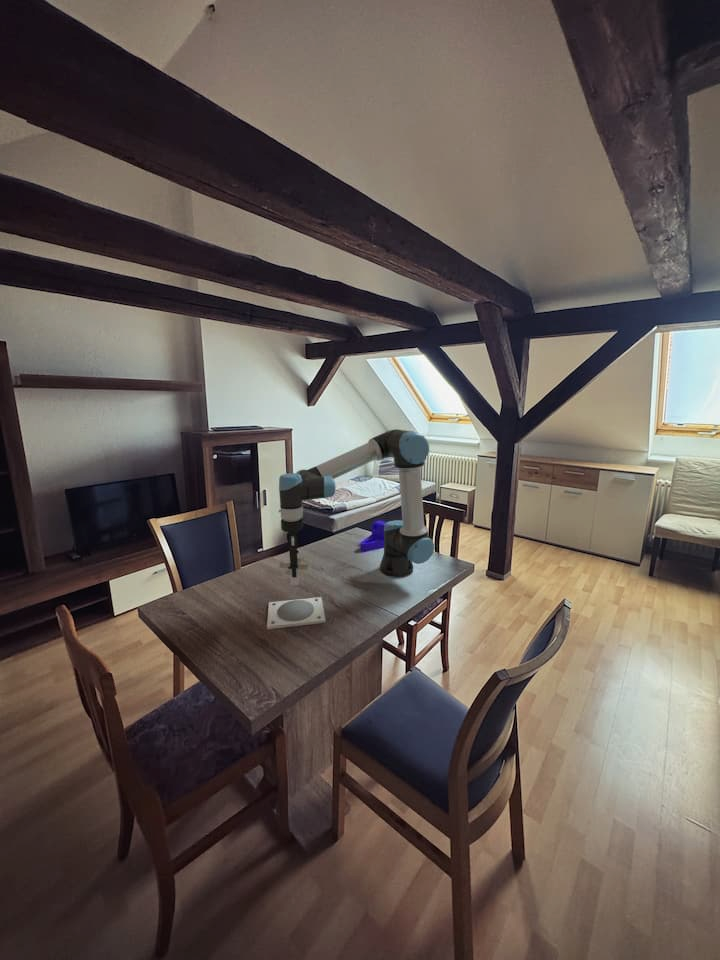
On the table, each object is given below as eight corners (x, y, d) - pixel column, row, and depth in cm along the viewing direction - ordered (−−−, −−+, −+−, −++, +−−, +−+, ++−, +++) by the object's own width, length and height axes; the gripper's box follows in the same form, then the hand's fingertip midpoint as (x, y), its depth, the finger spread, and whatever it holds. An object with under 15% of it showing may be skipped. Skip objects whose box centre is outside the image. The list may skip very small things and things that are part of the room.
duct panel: (321, 599, 149) (321, 595, 148) (325, 622, 133) (325, 618, 133) (269, 604, 145) (268, 600, 145) (267, 629, 130) (266, 625, 129)
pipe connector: (302, 587, 130) (301, 560, 128) (275, 584, 132) (274, 558, 130) (312, 574, 140) (311, 549, 138) (286, 572, 142) (285, 546, 140)
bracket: (377, 539, 211) (377, 519, 208) (392, 545, 203) (392, 524, 200) (354, 548, 198) (353, 527, 196) (369, 554, 191) (369, 532, 188)
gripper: (281, 509, 141) (283, 565, 146) (280, 530, 120) (283, 594, 124) (301, 508, 143) (303, 563, 147) (304, 528, 121) (306, 592, 126)
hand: (294, 577), depth 136 cm, fingers closed on pipe connector, 10 cm apart
